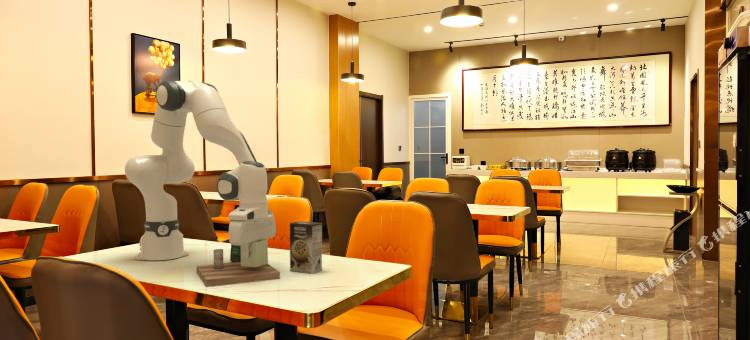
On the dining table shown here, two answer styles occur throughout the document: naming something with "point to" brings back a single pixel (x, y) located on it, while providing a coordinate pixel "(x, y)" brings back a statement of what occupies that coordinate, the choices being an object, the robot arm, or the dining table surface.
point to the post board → (233, 272)
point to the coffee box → (305, 247)
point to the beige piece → (256, 254)
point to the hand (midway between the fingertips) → (254, 255)
